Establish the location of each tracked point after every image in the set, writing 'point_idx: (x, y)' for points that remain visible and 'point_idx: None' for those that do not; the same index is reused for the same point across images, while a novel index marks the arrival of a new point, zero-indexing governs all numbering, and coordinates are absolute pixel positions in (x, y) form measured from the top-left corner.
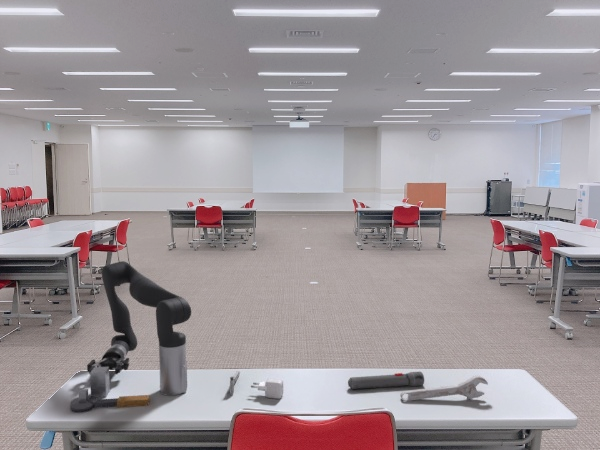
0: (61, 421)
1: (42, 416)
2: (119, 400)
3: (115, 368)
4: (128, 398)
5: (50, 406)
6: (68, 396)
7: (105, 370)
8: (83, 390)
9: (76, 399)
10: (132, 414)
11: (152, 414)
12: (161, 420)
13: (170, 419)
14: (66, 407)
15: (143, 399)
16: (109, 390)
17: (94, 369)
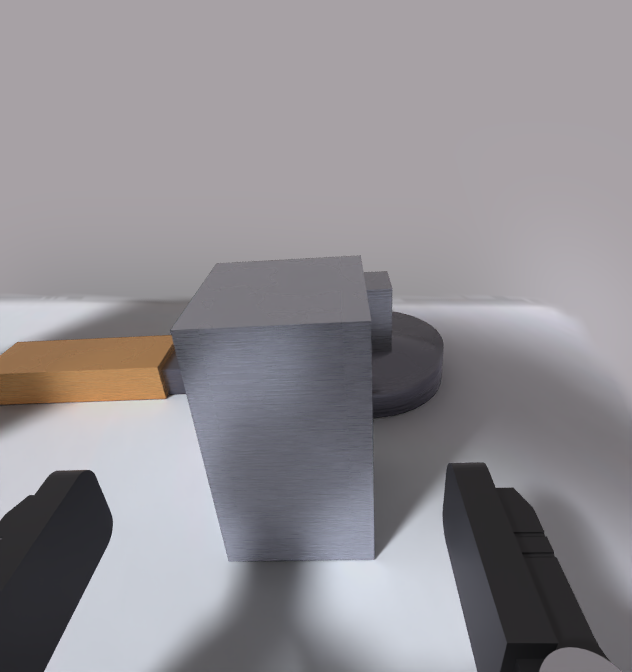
0: (412, 301)
1: (533, 322)
2: (163, 340)
3: (77, 472)
4: (110, 351)
5: (586, 384)
6: (587, 496)
7: (214, 279)
8: (365, 282)
9: (420, 352)
10: (128, 325)
11: (52, 323)
12: (42, 302)
13: (10, 305)
14: (469, 372)
15: (39, 342)
16: (228, 548)
17: (341, 288)
